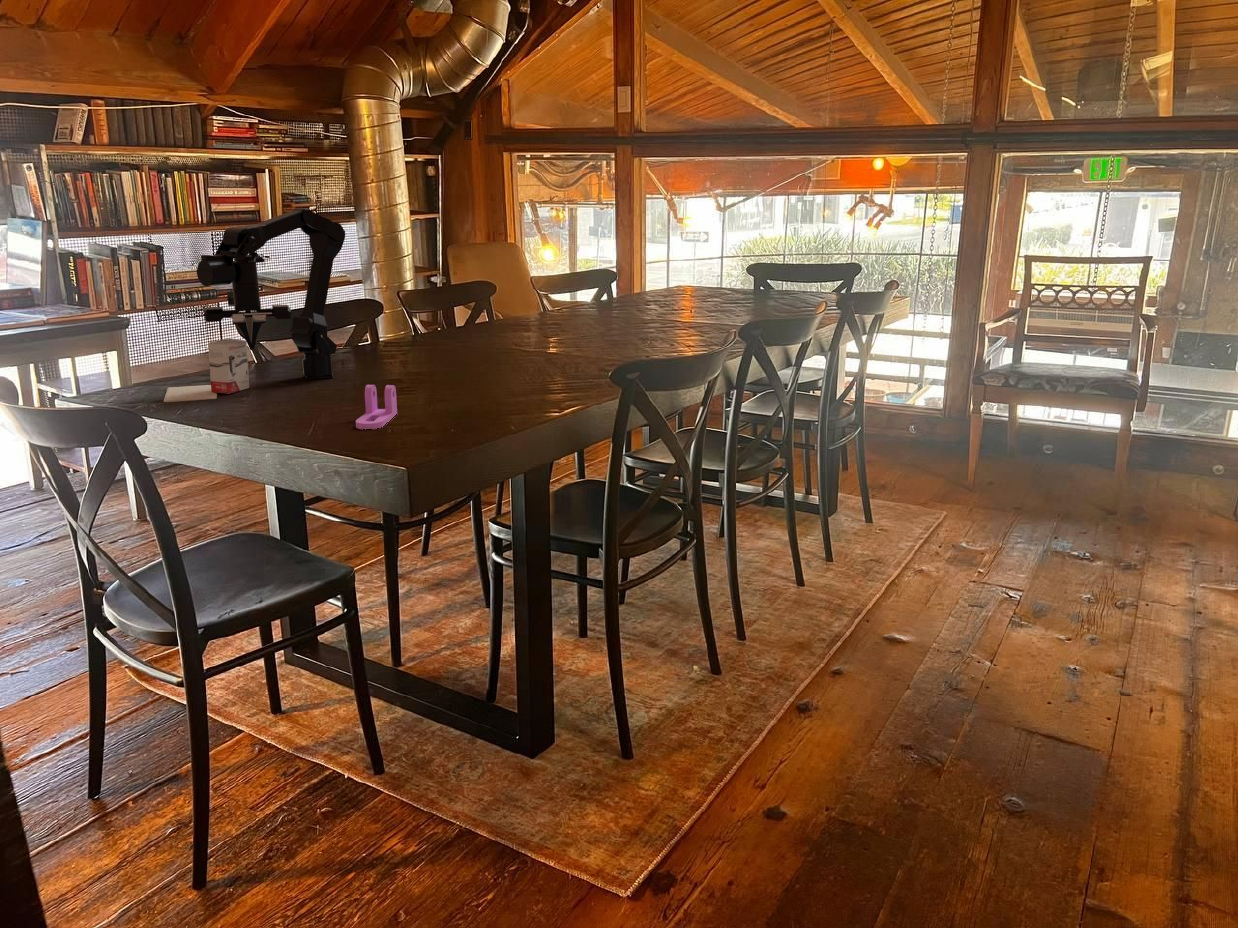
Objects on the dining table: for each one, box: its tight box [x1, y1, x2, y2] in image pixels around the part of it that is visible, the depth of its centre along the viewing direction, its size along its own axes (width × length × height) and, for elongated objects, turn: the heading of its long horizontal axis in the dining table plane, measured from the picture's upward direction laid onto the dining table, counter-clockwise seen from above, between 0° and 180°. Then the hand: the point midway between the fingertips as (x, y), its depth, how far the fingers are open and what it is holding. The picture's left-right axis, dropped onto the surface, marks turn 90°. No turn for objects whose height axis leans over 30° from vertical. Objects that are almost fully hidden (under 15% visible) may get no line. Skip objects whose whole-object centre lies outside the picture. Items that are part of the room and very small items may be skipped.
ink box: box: [207, 338, 250, 395], centre depth 219 cm, size 9×5×12 cm, turn 169°
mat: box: [163, 384, 218, 403], centre depth 218 cm, size 11×16×1 cm
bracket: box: [355, 384, 398, 431], centre depth 192 cm, size 13×6×7 cm, turn 178°
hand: (252, 349), depth 220 cm, fingers closed
